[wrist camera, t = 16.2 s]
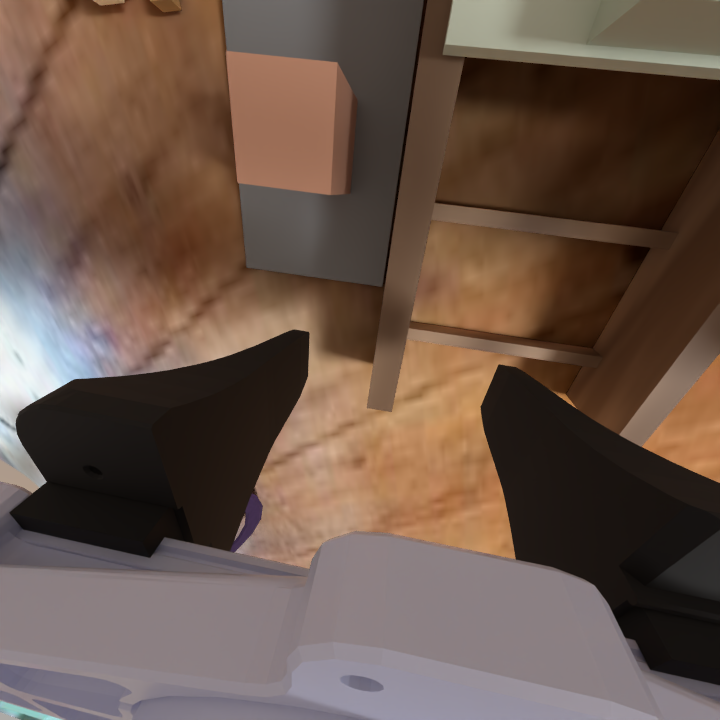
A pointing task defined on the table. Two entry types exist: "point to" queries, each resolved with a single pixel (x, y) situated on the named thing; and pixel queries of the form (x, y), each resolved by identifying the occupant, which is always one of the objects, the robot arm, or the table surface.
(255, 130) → the block
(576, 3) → the cover
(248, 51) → the mat
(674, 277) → the brown wooden frame
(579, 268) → the table surface
